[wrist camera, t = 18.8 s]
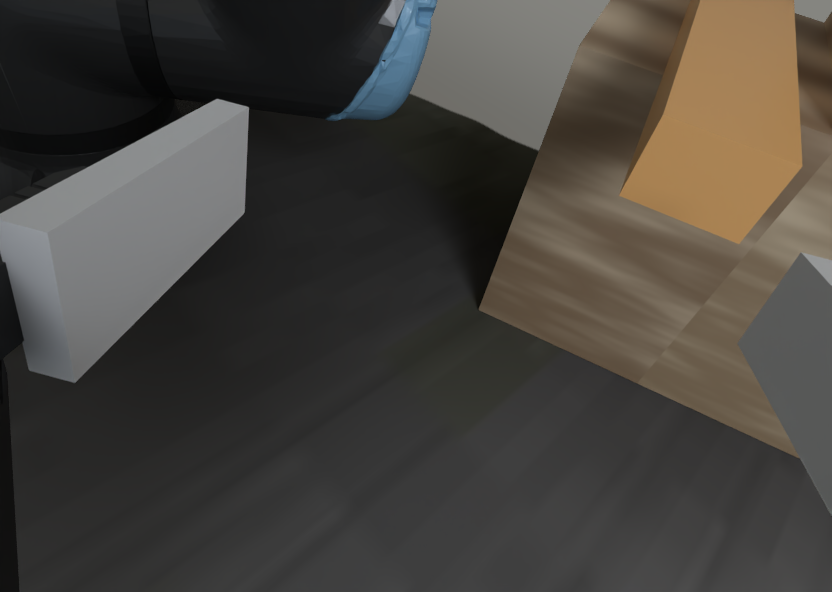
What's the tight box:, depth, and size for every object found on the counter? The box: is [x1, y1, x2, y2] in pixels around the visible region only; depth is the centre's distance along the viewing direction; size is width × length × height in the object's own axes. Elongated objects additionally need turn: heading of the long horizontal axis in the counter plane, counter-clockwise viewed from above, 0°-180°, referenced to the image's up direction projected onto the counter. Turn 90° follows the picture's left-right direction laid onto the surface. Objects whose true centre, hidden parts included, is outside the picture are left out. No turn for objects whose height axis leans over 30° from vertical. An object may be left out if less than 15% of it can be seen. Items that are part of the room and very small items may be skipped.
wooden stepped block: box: [479, 0, 832, 459], centre depth 32 cm, size 17×24×30 cm
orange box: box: [619, 0, 802, 244], centre depth 25 cm, size 26×4×3 cm, turn 154°
